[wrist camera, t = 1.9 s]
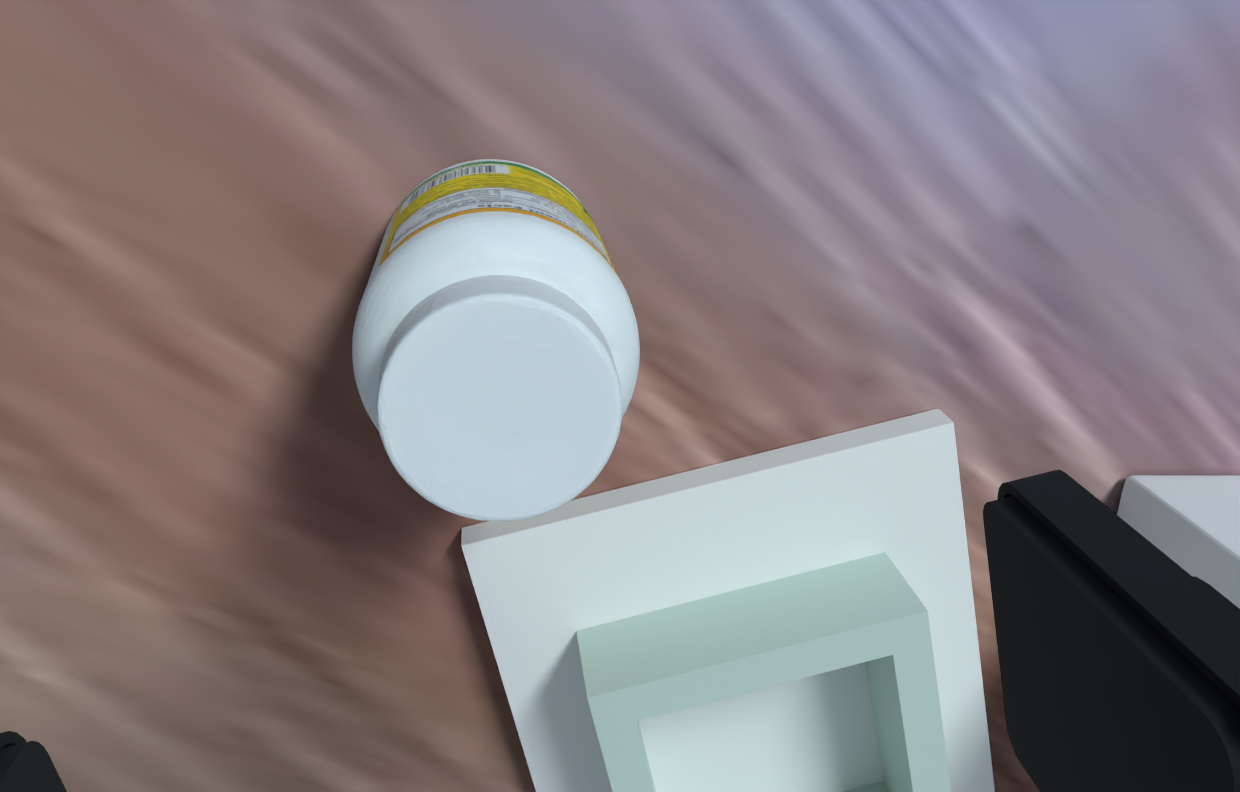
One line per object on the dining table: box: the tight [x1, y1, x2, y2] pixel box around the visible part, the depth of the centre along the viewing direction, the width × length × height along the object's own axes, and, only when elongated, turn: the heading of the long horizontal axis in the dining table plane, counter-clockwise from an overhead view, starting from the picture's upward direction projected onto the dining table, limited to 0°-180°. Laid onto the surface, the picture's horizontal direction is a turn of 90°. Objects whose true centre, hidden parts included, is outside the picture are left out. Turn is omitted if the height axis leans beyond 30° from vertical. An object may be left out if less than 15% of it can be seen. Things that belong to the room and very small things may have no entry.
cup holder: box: [461, 409, 995, 792], centre depth 30 cm, size 15×13×4 cm
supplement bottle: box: [352, 159, 640, 522], centre depth 22 cm, size 5×5×10 cm
